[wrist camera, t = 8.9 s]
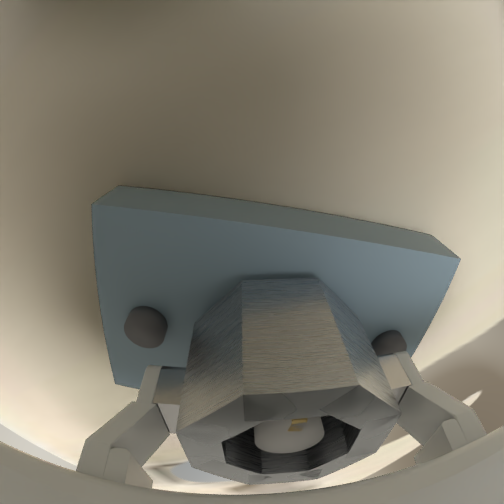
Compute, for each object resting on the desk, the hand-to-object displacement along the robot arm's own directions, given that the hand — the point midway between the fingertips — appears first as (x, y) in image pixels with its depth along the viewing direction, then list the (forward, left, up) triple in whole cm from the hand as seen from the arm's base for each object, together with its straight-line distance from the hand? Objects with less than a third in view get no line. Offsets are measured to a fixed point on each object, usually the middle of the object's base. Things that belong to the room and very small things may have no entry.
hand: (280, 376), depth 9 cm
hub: (0, 0, -2) cm, 2 cm away
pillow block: (0, 0, -5) cm, 5 cm away
